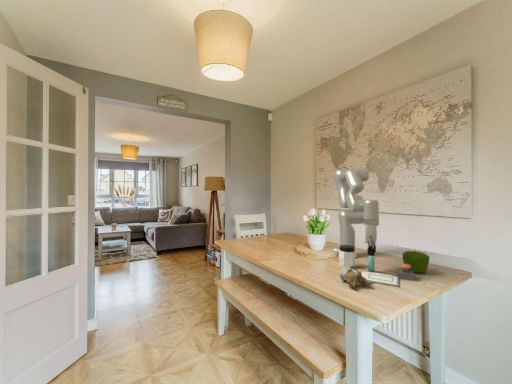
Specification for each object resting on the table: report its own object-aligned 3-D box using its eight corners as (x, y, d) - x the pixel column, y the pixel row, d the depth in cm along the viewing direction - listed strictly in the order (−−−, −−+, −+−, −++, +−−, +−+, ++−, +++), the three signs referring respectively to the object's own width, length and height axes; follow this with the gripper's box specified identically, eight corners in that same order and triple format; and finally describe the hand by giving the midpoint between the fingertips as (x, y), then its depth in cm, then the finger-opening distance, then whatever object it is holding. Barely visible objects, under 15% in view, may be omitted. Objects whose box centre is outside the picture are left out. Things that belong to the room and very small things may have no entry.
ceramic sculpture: (352, 260, 122) (374, 271, 108) (351, 277, 123) (373, 290, 108) (333, 262, 119) (354, 274, 105) (333, 279, 119) (353, 293, 105)
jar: (336, 265, 144) (336, 245, 144) (347, 264, 146) (347, 244, 146) (346, 269, 135) (346, 248, 135) (358, 268, 138) (358, 247, 138)
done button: (400, 274, 122) (400, 265, 122) (400, 271, 126) (400, 263, 126) (411, 275, 120) (411, 266, 120) (410, 273, 124) (410, 264, 124)
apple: (434, 276, 125) (434, 254, 125) (408, 274, 127) (407, 253, 127) (422, 268, 137) (422, 248, 137) (399, 267, 140) (398, 247, 140)
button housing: (397, 278, 121) (397, 272, 121) (397, 274, 127) (397, 268, 128) (414, 280, 118) (414, 274, 118) (413, 276, 124) (413, 270, 124)
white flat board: (356, 280, 119) (356, 278, 119) (360, 271, 132) (360, 270, 132) (399, 287, 110) (399, 285, 110) (398, 277, 123) (398, 275, 123)
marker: (367, 272, 131) (367, 255, 131) (368, 270, 134) (368, 254, 134) (374, 273, 129) (374, 256, 129) (374, 271, 132) (374, 254, 132)
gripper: (365, 221, 141) (366, 250, 140) (361, 223, 126) (362, 256, 125) (379, 221, 137) (380, 251, 137) (377, 224, 122) (378, 258, 122)
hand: (371, 254), depth 131 cm, fingers open, 9 cm apart
